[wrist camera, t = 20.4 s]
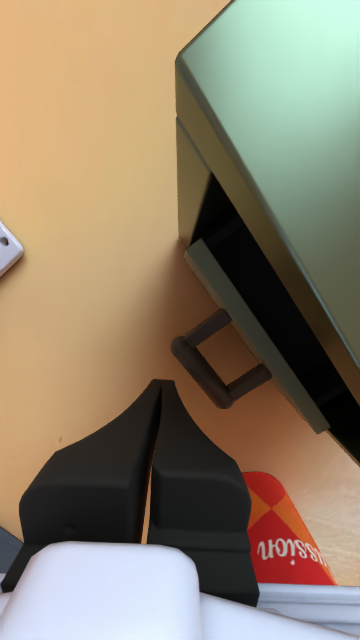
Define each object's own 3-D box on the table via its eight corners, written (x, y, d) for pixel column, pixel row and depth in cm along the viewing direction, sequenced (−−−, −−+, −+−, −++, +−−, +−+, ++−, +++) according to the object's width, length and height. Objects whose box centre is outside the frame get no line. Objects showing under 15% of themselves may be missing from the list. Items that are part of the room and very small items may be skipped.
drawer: (137, 295, 12) (119, 303, 8) (355, 121, 10) (457, 31, 6) (238, 419, 14) (258, 468, 10) (434, 297, 12) (544, 306, 8)
